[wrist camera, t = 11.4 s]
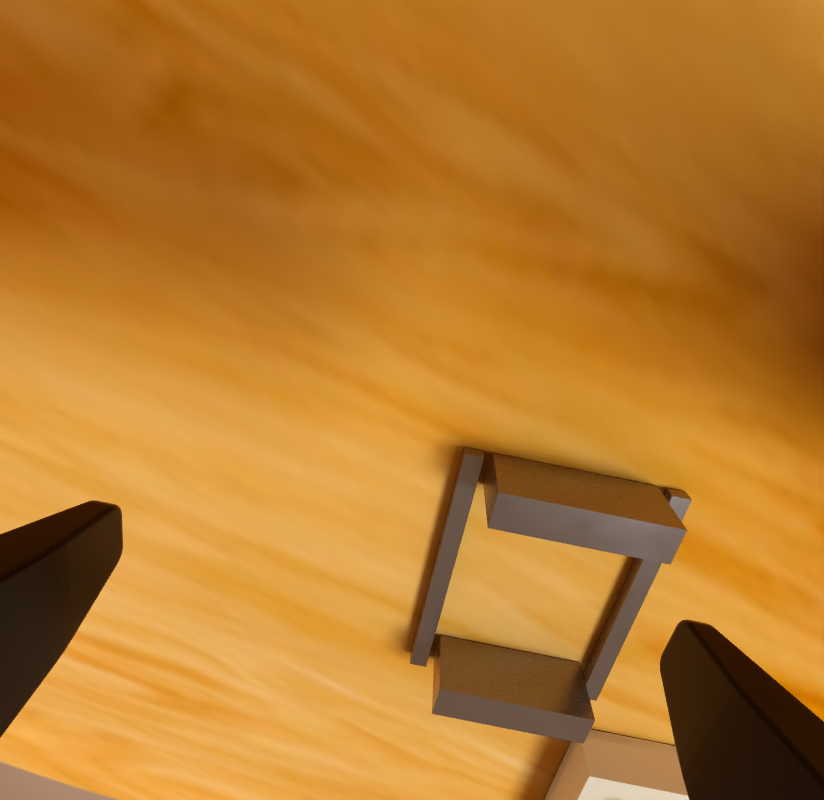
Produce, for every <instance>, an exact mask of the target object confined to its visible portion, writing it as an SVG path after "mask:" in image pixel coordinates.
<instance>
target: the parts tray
mask: <svg viewBox="0 0 824 800" xmlns="http://www.w3.org/2000/svg"><path fill="white" fill-rule="evenodd" d="M544 800H689V797H688V794H687V791H686V787H685V783H684V780H683V776H682V773H681V768H680V764H679V760H678V755H677V751H676V746H672V745H667V744H662V743H657V742H652V741H647V740H642V739H637V738H632V737H627V736H622V735H617V734H612V733H607V732H602V731H597V730H592V729H591V730H590V732H589V734H588V736H587V738H586V740H585V742H584V744H583V743H578V742H573V741H571V743H570V745H569V747H568V749H567V752H566V754H565V756H564V758H563V760H562V762H561V764H560V766H559V769H558V771H557V773H556V775H555V777H554V779H553V781H552V784H551V786H550V788H549V790H548V792H547V794H546V796H545V798H544Z"/></svg>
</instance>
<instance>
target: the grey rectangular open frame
mask: <svg viewBox="0 0 824 800" xmlns="http://www.w3.org/2000/svg"><path fill="white" fill-rule="evenodd" d="M483 460H484V452H483V451H482V450H477V449H472V448H467V447H464V451H463V455H462V459H461V462H460V466H459V470H458V474H457V478H456V482H455V486H454V489H453V493H452V497H451V501H450V505H449V509H448V512H447V516H446V520H445V524H444V528H443V532H442V536H441V539H440V543H439V547H438V551H437V555H436V559H435V563H434V566H433V570H432V574H431V578H430V582H429V586H428V589H427V593H426V597H425V601H424V605H423V609H422V613H421V616H420V620H419V624H418V628H417V632H416V636H415V640H414V643H413V647H412V651H411V658H410V664H414V665H420V666H425V667H426V664H427V661H428V657H429V654H430V650H431V647H432V643H433V639H434V636H435V632H436V629H437V625H438V622H439V618H440V614H441V611H442V607H443V604H444V600H445V596H446V593H447V589H448V586H449V582H450V579H451V575H452V571H453V568H454V564H455V561H456V557H457V553H458V550H459V546H460V543H461V539H462V536H463V532H464V528H465V525H466V521H467V518H468V514H469V510H470V507H471V503H472V500H473V496H474V493H475V489H476V485H477V482H478V478H479V475H480V471H481V468H482V464H483ZM484 494H485V504H486V514H487V524H488V528H491V529H496V530H501V531H506V532H511V533H516V534H521V535H526V536H531V537H536V538H541V539H546V540H551V541H556V542H561V543H566V544H571V545H576V546H581V547H586V548H591V549H596V550H601V551H606V552H611V553H615V554H620V555H625V556H630V557H635V560H634V563H633V565H632V567H631V569H630V572H629V574H628V576H627V578H626V580H625V583H624V585H623V587H622V589H621V592H620V594H619V596H618V598H617V601H616V603H615V605H614V607H613V609H612V612H611V614H610V616H609V618H608V621H607V623H606V625H605V627H604V630H603V632H602V634H601V636H600V638H599V641H598V643H597V645H596V647H595V650H594V652H593V654H592V656H591V659H590V661H589V663H588V665H587V667H586V670H585V672H584V674H583V673H582V669H581V665H580V663H578V662H573V661H568V660H563V659H558V658H553V657H548V656H543V655H538V654H533V653H528V652H523V651H518V650H513V649H508V648H503V647H498V646H493V645H488V644H483V643H478V642H473V641H468V640H463V639H458V638H453V637H448V636H443V635H441V636H440V640H439V643H438V647H437V650H436V654H435V657H434V677H433V703H432V714H436V715H441V716H446V717H452V718H457V719H462V720H467V721H472V722H477V723H482V724H487V725H492V726H497V727H502V728H507V729H512V730H517V731H522V732H527V733H532V734H537V735H542V736H547V737H552V738H557V739H563V740H568V741H573V742H578V743H583V744H584V742H585V740H586V738H587V736H588V734H589V732H590V730H591V727H592V725H593V723H594V721H595V718H594V714H593V711H592V707H591V703H590V700H595V701H596V700H597V698H598V696H599V694H600V692H601V690H602V688H603V685H604V683H605V681H606V679H607V677H608V675H609V673H610V671H611V669H612V667H613V664H614V662H615V660H616V658H617V656H618V654H619V652H620V650H621V648H622V646H623V643H624V641H625V639H626V637H627V635H628V633H629V631H630V629H631V627H632V624H633V622H634V620H635V618H636V616H637V614H638V612H639V610H640V608H641V606H642V603H643V601H644V599H645V597H646V595H647V593H648V591H649V589H650V587H651V585H652V582H653V580H654V578H655V576H656V574H657V572H658V570H659V568H660V566H661V563H665V564H671V562H672V560H673V558H674V556H675V554H676V552H677V550H678V548H679V546H680V544H681V542H682V540H683V537H684V535H685V533H686V531H687V530H686V528H685V527H684V525H683V524H682V522H681V521H682V519H683V517H684V515H685V513H686V511H687V509H688V507H689V505H690V502H691V498H690V497H689V496H688V494H687V493H686V492H684V491H679V490H674V489H669V488H667V489H666V491H665V494H664V495H663V494H662V492H661V491H660V489H659V488H658V486H654V485H650V484H645V483H640V482H635V481H630V480H625V479H620V478H615V477H610V476H605V475H600V474H595V473H590V472H585V471H580V470H575V469H571V468H566V467H561V466H556V465H551V464H546V463H541V462H536V461H531V460H526V459H521V458H516V457H511V456H506V455H501V454H496V453H493V454H492V457H491V461H490V464H489V468H488V471H487V475H486V478H485V482H484Z"/></svg>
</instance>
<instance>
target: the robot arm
mask: <svg viewBox="0 0 824 800" xmlns="http://www.w3.org/2000/svg"><path fill="white" fill-rule="evenodd" d="M122 549H123V534H122V512H121V509H120V507H119V506H117V505H115V504H111V503H106V502H101V501H89V502H86V503H83V504H80V505H78V506H75V507H72V508H70V509H67V510H64V511H62V512H59V513H56V514H54V515H51V516H48V517H45V518H43V519H40V520H37V521H35V522H32V523H29V524H27V525H24V526H21V527H19V528H16V529H13V530H11V531H8V532H5V533H3V534H0V737H1V736H2V735H3V733H4V732H5V731H6V729H7V728H8V727H9V725H10V724H11V723H12V721H13V720H14V719H15V717H16V716H17V715H18V713H19V712H20V711H21V709H22V708H23V707H24V705H25V704H26V703H27V701H28V700H29V699H30V697H31V696H32V694H33V693H34V692H35V690H36V689H37V688H38V686H39V685H40V684H41V682H42V681H43V680H44V678H45V677H46V676H47V674H48V673H49V672H50V670H51V669H52V668H53V666H54V665H55V663H56V662H57V661H58V659H59V658H60V656H61V655H62V654H63V652H64V651H65V649H66V648H67V646H68V644H69V643H70V641H71V640H72V638H73V637H74V635H75V633H76V632H77V630H78V628H79V627H80V625H81V623H82V622H83V620H84V618H85V617H86V615H87V613H88V612H89V610H90V608H91V607H92V605H93V603H94V602H95V600H96V598H97V597H98V595H99V593H100V592H101V590H102V588H103V587H104V585H105V583H106V582H107V580H108V578H109V577H110V575H111V573H112V572H113V570H114V568H115V567H116V565H117V563H118V562H119V559H120V557H121V554H122ZM660 671H661V677H662V682H663V687H664V692H665V697H666V701H667V706H668V711H669V716H670V721H671V726H672V731H673V736H674V741H675V746H676V751H677V755H678V760H679V764H680V768H681V773H682V776H683V780H684V783H685V787H686V791H687V794H688V797H689V800H824V722H823V721H822V720H821V719H820V718H819V717H818V716H816V715H815V714H814V713H813V712H812V711H811V710H809V709H808V708H807V707H806V706H805V705H804V704H802V703H801V702H800V701H799V700H798V699H797V698H795V697H794V696H793V695H792V694H791V693H790V692H788V691H787V690H786V689H785V688H784V687H783V686H781V685H780V684H779V683H778V682H777V681H776V680H774V679H773V678H772V677H771V676H770V675H769V674H767V673H766V672H765V671H764V670H763V669H762V668H760V667H759V666H758V665H757V664H756V663H755V662H753V661H752V660H751V659H750V658H749V657H748V656H746V655H745V654H744V653H743V652H742V651H741V650H739V649H738V648H737V647H736V646H735V645H734V644H732V643H731V642H730V641H729V640H728V639H727V638H726V637H724V636H723V635H722V634H721V633H720V632H719V631H717V630H716V629H715V628H714V627H713V626H711V625H709V624H706V623H702V622H697V621H692V620H682V621H681V622H679V623H678V625H677V627H676V628H675V630H674V632H673V634H672V636H671V638H670V640H669V642H668V644H667V646H666V648H665V650H664V651H663V653H662V656H661V660H660Z"/></svg>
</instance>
